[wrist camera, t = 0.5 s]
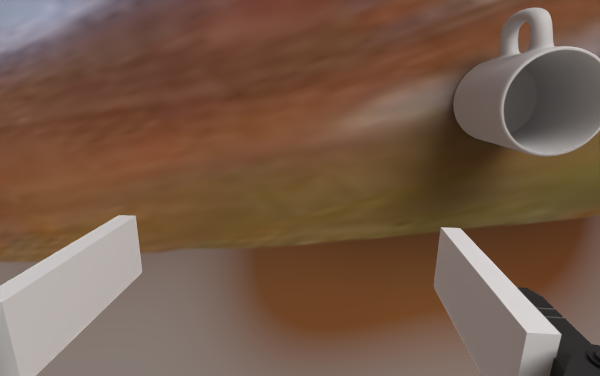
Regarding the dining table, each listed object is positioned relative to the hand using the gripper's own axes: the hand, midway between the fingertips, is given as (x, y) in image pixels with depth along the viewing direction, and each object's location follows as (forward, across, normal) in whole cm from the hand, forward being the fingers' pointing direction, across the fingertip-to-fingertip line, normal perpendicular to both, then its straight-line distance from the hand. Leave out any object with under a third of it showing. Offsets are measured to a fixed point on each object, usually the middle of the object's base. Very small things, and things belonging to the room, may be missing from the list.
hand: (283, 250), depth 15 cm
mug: (+27, +19, +8) cm, 34 cm away
